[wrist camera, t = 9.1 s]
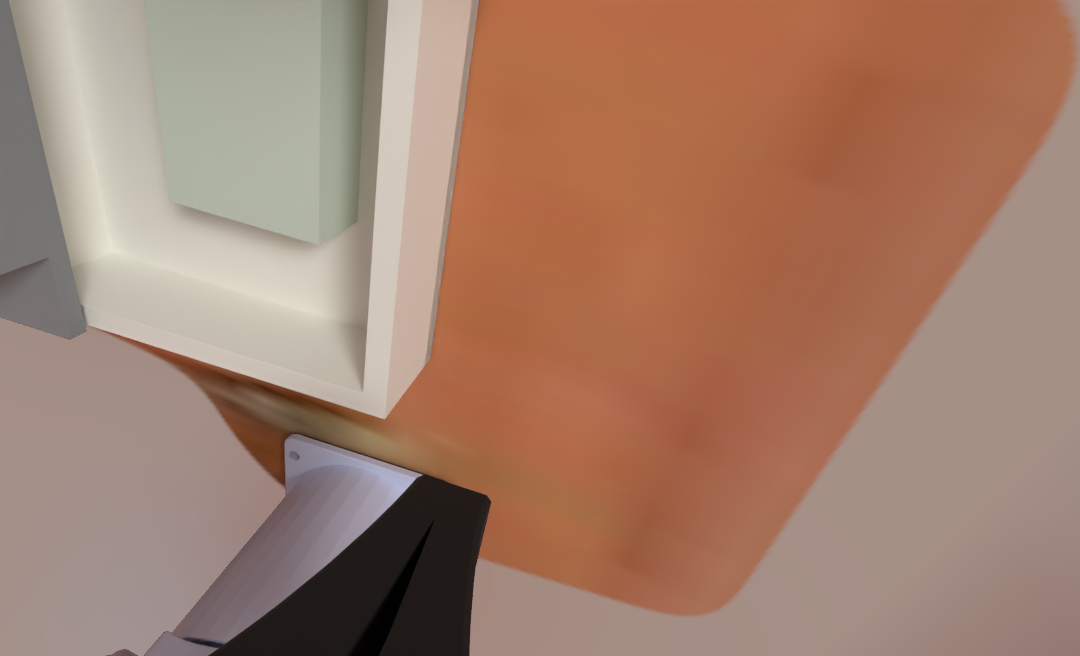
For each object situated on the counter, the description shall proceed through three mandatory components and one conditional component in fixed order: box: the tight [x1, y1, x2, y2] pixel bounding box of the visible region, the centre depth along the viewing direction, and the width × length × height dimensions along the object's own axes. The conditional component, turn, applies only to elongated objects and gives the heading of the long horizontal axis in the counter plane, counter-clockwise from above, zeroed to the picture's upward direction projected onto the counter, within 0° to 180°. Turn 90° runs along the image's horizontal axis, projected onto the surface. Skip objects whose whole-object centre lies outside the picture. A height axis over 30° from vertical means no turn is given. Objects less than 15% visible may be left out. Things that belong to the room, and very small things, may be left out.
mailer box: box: [9, 0, 479, 419], centre depth 16 cm, size 18×14×4 cm
